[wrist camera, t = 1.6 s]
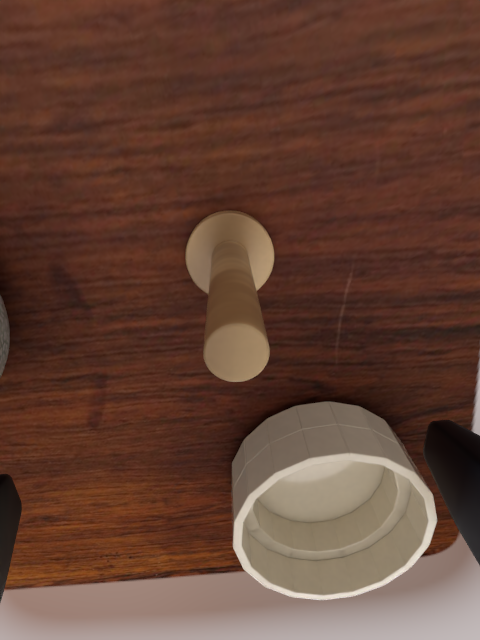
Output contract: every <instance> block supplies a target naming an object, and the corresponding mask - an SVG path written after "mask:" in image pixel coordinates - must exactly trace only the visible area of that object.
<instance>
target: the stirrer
mask: <svg viewBox="0 0 480 640" xmlns="http://www.w3.org/2000/svg"><path fill="white" fill-rule="evenodd" d="M185 259H186V266H187V269H188V272H189V274H190V276H191V278H192V280H193V281H194V283H195V284H196V285H197V286H198V287H199V288H200V289H201V290H203V291H204V292H206V293H207V294H208V305H207V316H206V327H205V338H204V349H203V357H204V361H205V363H206V365H207V367H208V368H209V370H210V371H211V372H212V373H213V374H214V375H216V376H217V377H219V378H221V379H223V380H226V381H230V382H242V381H246V380H249V379H252V378H253V377H255V376H257V375H258V374H259V373H260V372H261V371H262V370H263V369H264V368H265V366H266V364H267V362H268V359H269V355H270V349H269V343H268V339H267V335H266V330H265V326H264V322H263V317H262V313H261V309H260V304H259V300H258V296H257V292H256V291H257V290H258V289H260V288H261V287H262V286H263V285H264V283H265V282H266V281H267V279H268V277H269V276H270V274H271V271H272V268H273V264H274V248H273V244H272V241H271V239H270V236H269V234H268V233H267V231H266V229H265V228H264V227H263V225H262V224H261V223H260V222H259V221H257V220H256V219H255V218H253V217H252V216H250V215H248V214H245V213H243V212H239V211H221V212H217V213H214V214H212V215H209V216H208V217H206V218H204V219H203V220H202V221H201V222H200V223H199V224H198V225H197V226H196V227H195V228H194V230H193V231H192V233H191V235H190V237H189V240H188V243H187V246H186V253H185Z"/></svg>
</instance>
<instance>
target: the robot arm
mask: <svg viewBox="0 0 480 640" xmlns="http://www.w3.org/2000/svg"><path fill="white" fill-rule="evenodd" d="M423 453H424V458H425V461H426V463H427V465H428V467H429V469H430V471H431V473H432V476H433V478H434V480H435V482H436V484H437V486H438V488H439V490H440V493H441V495H442V497H443V499H444V501H445V503H446V505H447V508H448V510H449V512H450V514H451V516H452V518H453V520H454V522H455V524H456V526H457V527H458V529H459V531H460V533H461V534H462V536H463V538H464V539H465V541H466V543H467V545H468V546H469V548H470V550H471V551H472V553H473V555H474V556H475V558H476V560H477V561H478V563H479V565H480V436H479V435H477V434H475V433H473V432H472V431H470V430H468V429H466V428H464V427H462V426H460V425H458V424H456V423H454V422H452V421H450V420H440V421H433V422H431V423H430V424H429V426H428V430H427V434H426V439H425V443H424V448H423ZM21 510H22V506H21V500H20V498H19V495H18V493H17V490H16V487H15V485H14V482H13V480H12V478H11V476H10V475H8V474H0V602H1V598H2V595H3V592H4V588H5V584H6V580H7V575H8V571H9V566H10V562H11V557H12V553H13V548H14V544H15V539H16V534H17V530H18V525H19V521H20V516H21Z"/></svg>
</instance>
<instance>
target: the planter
mask: <svg viewBox="0 0 480 640" xmlns="http://www.w3.org/2000/svg"><path fill="white" fill-rule="evenodd" d="M9 345H10V329H9V321H8V316H7V312H6V308H5V305H4V302H3V300H2V297H1V295H0V377H1V375H2V373H3V370H4V368H5V365H6V361H7V357H8V352H9Z"/></svg>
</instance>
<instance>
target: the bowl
mask: <svg viewBox="0 0 480 640" xmlns="http://www.w3.org/2000/svg"><path fill="white" fill-rule="evenodd" d="M231 497H232V535H233V548H234V550H235V552H236V554H237V556H238V559H239V561H240V563H241V565H242V567H243V569H244V570H245V571H246V572H247V573H248V574H250V575H251V576H252V577H253V578H254V579H256V580H257V581H258V582H259V583H260V584H262V585H263V586H265V587H266V588H269V589H271V590H274V591H277V592H279V593H282V594H285V595H287V596H290V597H295V598H305V599H315V600H329V599H337V598H344V597H352V596H357V595H359V594H362V593H365V592H367V591H370V590H373V589H376V588H379V587H381V586H384V585H386V584H388V583H389V582H390V581H392V580H394V579H395V578H397V577H398V576H399V575H401V574H402V573H404V572H405V571H407V570H408V569H410V568H411V567H412V566H413V565H414V564H415V562H416V561H417V560H418V559H419V557H420V556H421V555H422V554H423V553H424V551H425V550H426V549H427V548H428V546H429V545H430V542H431V539H432V536H433V532H434V529H435V526H436V523H437V515H436V509H435V504H434V498H433V494H432V492H431V491H430V489H429V487H428V486H427V484H426V482H425V481H424V479H423V477H422V476H421V474H420V472H419V471H418V469H417V467H416V466H415V464H414V462H413V461H412V459H411V457H410V456H409V454H408V452H407V451H406V449H405V447H404V446H403V444H402V442H401V441H400V439H399V438H398V436H397V435H396V434H395V433H394V431H393V430H392V429H391V427H390V426H389V425H388V424H387V422H386V421H385V420H384V419H382V418H380V417H378V416H376V415H375V414H373V413H371V412H369V411H367V410H365V409H364V408H362V407H359V406H355V405H349V404H343V403H337V402H331V401H329V402H328V401H326V402H318V403H311V404H304V405H297V406H293V407H291V408H289V409H287V410H284V411H282V412H280V413H278V414H276V415H273V416H271V417H269V418H267V419H266V420H265V421H264V422H262V423H261V424H260V425H259V426H258V427H257V428H256V429H255V430H254V431H253V432H251V433H250V434H249V435H248V436H247V437H246V438H245V440H243V442H242V444H241V446H240V448H239V450H238V452H237V454H236V456H235V458H234V460H233V462H232V477H231Z"/></svg>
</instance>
